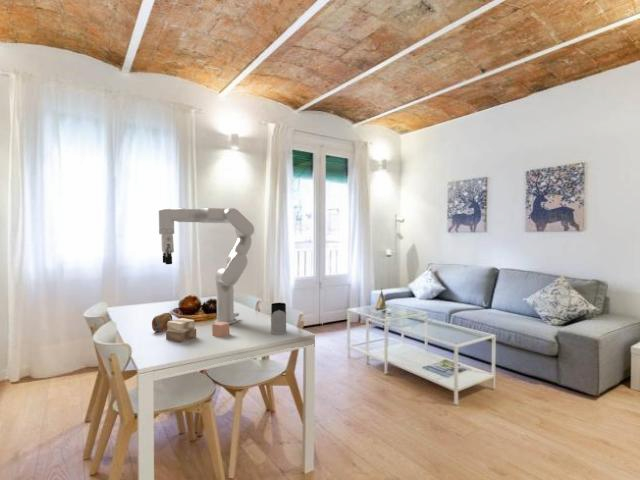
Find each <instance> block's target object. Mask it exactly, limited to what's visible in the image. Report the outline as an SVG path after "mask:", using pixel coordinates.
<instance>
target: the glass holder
mask: <svg viewBox="0 0 640 480" xmlns="http://www.w3.org/2000/svg"><path fill="white" fill-rule="evenodd" d="M286 305H287V304H286V303H285V302H272V303H271V310H270V311H271V313H270V318H271V319H270V332H269V333H270V335H272V336H273V335H274V336H282V335H286V334H288V331H287V311H286V309H287V306H286Z"/></svg>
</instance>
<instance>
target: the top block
mask: <svg viewBox="0 0 640 480" xmlns="http://www.w3.org/2000/svg"><path fill="white" fill-rule="evenodd" d="M195 327H196V326H195V319H189V318H185V317H181V318H180V317H179V318H177V319H172V321H168V322H167V329H166V331H171V332H176V333H183V332H186V331H190V330H193V329H196V328H195Z"/></svg>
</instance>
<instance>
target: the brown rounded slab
mask: <svg viewBox="0 0 640 480" xmlns="http://www.w3.org/2000/svg"><path fill="white" fill-rule="evenodd" d="M172 320H173V316H172V313H170V312H164V313H161V314H159V315H156V316H154V317H153V319H152V321H151V327H152V330H153V332H155V333H156V332H159V333H160V332H163V331H166V330H167V322H168V321H172Z"/></svg>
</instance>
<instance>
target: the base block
mask: <svg viewBox="0 0 640 480" xmlns="http://www.w3.org/2000/svg"><path fill="white" fill-rule="evenodd" d="M196 338H197V329H196V328H195V329H193V330H190V331H186V332H183V333H176V332H171V331H167V330H165V340H167V341H171V342H176V343H183V342H186V341H189V340H193V339H196Z"/></svg>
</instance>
